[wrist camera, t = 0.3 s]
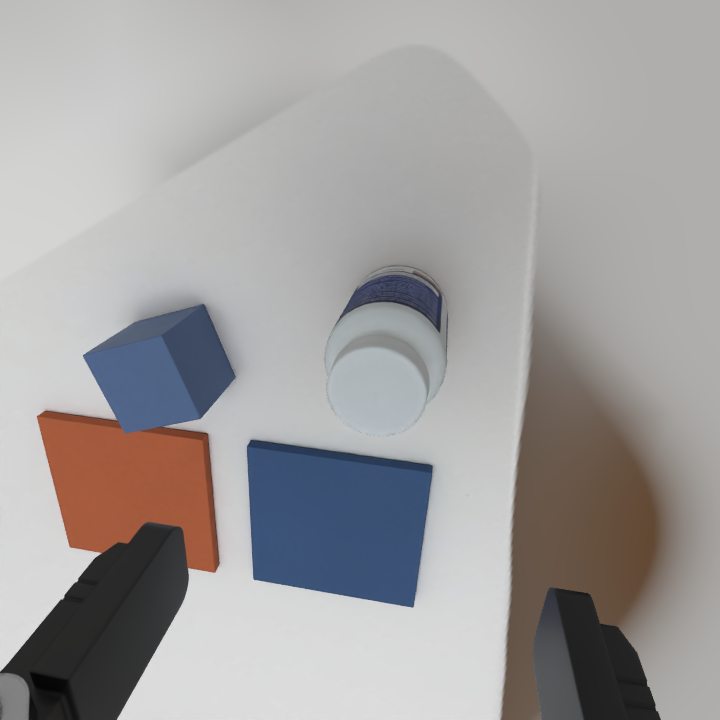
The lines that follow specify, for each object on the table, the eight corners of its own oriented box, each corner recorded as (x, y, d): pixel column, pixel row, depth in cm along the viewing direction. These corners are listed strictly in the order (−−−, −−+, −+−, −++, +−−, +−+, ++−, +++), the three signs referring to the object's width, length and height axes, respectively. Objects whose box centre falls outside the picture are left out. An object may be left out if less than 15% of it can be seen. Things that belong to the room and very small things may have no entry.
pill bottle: (336, 283, 29) (285, 354, 20) (428, 249, 27) (416, 310, 18) (372, 366, 30) (340, 465, 22) (460, 339, 29) (464, 434, 20)
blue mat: (250, 439, 34) (246, 446, 33) (432, 465, 33) (432, 473, 32) (256, 571, 39) (253, 579, 39) (414, 598, 38) (413, 608, 37)
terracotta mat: (44, 410, 36) (36, 416, 35) (207, 433, 35) (202, 440, 34) (76, 540, 41) (69, 547, 40) (219, 564, 40) (215, 573, 39)
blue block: (134, 322, 32) (81, 355, 27) (204, 303, 31) (161, 335, 26) (168, 392, 34) (124, 434, 29) (235, 377, 32) (200, 419, 28)
